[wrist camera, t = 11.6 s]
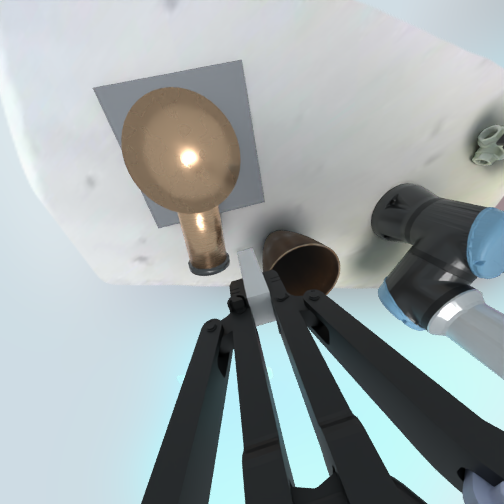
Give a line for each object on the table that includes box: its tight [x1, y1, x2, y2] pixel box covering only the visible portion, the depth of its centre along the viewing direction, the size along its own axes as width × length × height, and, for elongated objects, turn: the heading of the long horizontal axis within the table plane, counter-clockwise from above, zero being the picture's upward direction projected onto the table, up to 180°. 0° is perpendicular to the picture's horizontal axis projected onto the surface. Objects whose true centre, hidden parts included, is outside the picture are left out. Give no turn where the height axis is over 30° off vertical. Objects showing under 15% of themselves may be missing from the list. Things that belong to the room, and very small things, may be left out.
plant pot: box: [263, 230, 340, 296], centre depth 44 cm, size 15×15×16 cm
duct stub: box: [93, 60, 265, 230], centre depth 34 cm, size 28×24×11 cm
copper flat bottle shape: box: [121, 87, 241, 276], centre depth 28 cm, size 23×13×7 cm, turn 4°
